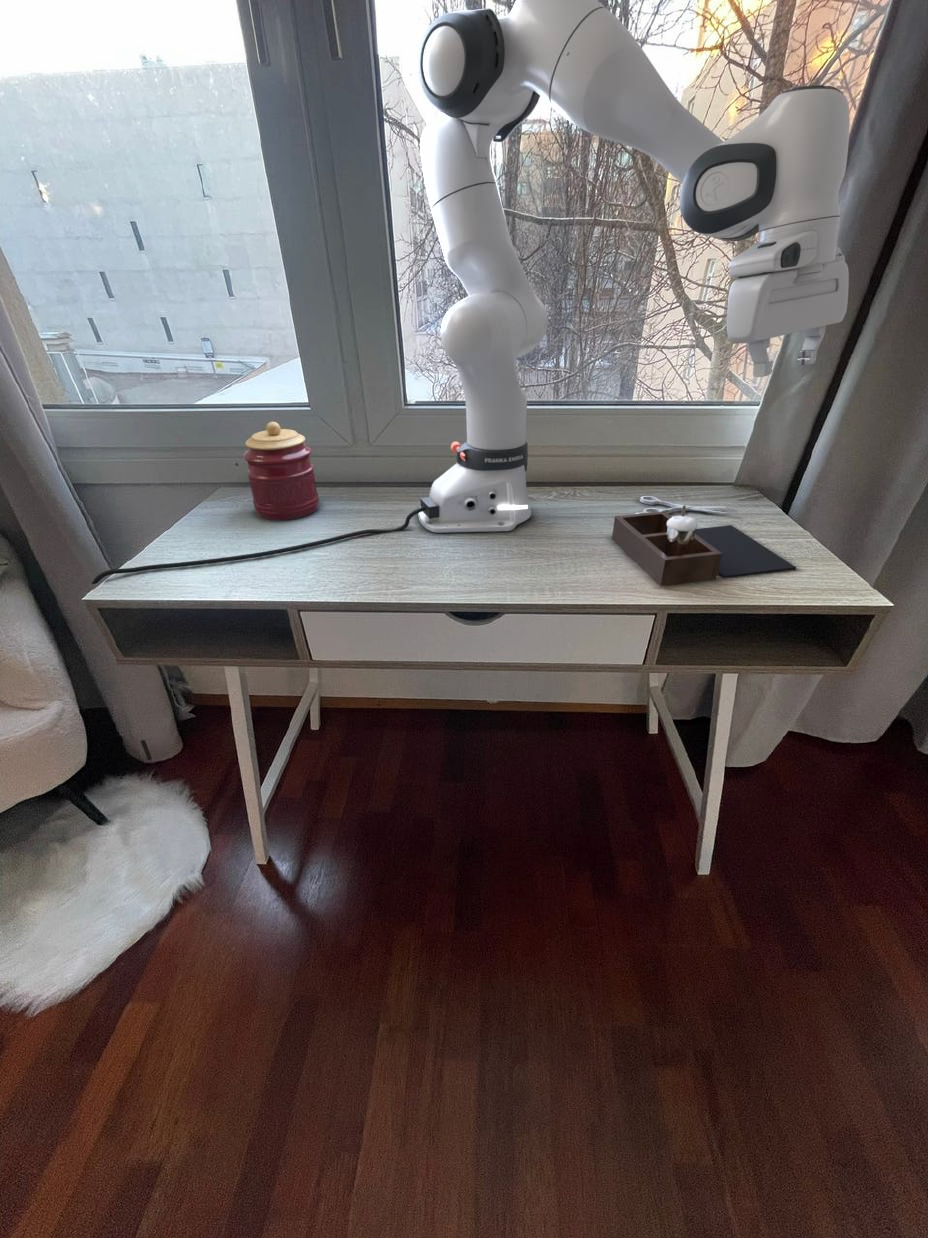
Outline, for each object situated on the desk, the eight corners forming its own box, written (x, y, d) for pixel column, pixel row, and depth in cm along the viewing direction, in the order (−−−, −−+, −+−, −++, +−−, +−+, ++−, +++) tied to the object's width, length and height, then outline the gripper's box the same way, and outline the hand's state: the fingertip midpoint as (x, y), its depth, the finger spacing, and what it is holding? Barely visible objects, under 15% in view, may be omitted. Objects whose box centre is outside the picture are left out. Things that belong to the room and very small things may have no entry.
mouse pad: (723, 578, 93) (723, 576, 93) (666, 533, 108) (667, 531, 108) (795, 569, 95) (796, 567, 95) (730, 527, 110) (731, 525, 110)
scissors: (632, 495, 123) (734, 499, 120) (632, 498, 124) (733, 503, 120) (634, 513, 115) (744, 519, 111) (634, 517, 115) (743, 523, 111)
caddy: (660, 586, 91) (665, 560, 89) (611, 539, 107) (614, 516, 104) (716, 579, 93) (722, 553, 91) (660, 534, 108) (664, 511, 106)
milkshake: (688, 564, 98) (700, 506, 92) (687, 578, 93) (699, 519, 88) (659, 560, 99) (669, 503, 94) (657, 574, 95) (668, 515, 89)
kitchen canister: (311, 521, 117) (296, 430, 107) (246, 521, 117) (226, 430, 108) (326, 498, 128) (313, 413, 118) (266, 498, 128) (249, 414, 119)
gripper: (821, 249, 81) (809, 358, 87) (720, 263, 73) (714, 383, 79) (869, 240, 76) (853, 356, 82) (767, 254, 67) (757, 383, 74)
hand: (784, 370), depth 80 cm, fingers open, 8 cm apart
